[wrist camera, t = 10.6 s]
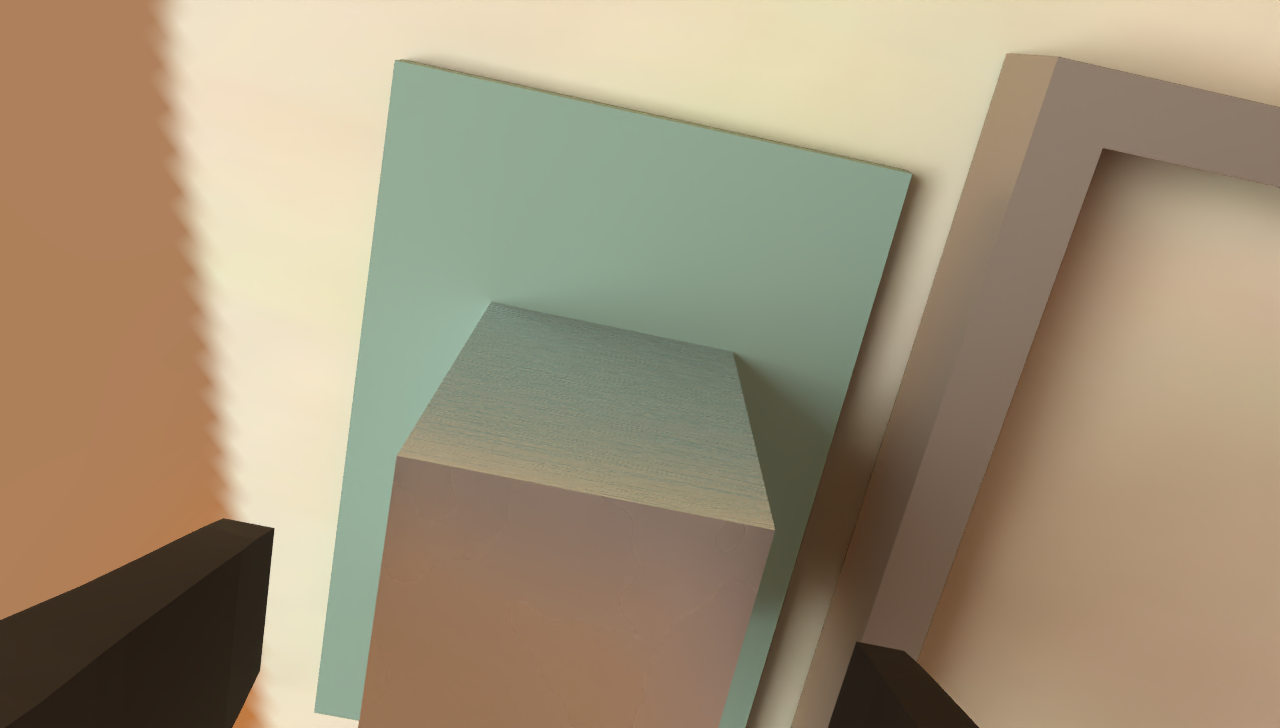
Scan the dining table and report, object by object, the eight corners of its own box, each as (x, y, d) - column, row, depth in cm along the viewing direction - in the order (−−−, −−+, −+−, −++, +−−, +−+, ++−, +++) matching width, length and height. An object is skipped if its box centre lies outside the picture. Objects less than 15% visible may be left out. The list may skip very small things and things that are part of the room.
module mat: (725, 769, 19) (727, 787, 19) (323, 695, 19) (314, 712, 18) (904, 169, 15) (912, 174, 15) (403, 59, 15) (394, 60, 14)
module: (666, 609, 17) (672, 889, 12) (446, 567, 17) (343, 831, 12) (733, 351, 16) (774, 530, 10) (491, 301, 16) (396, 456, 10)
